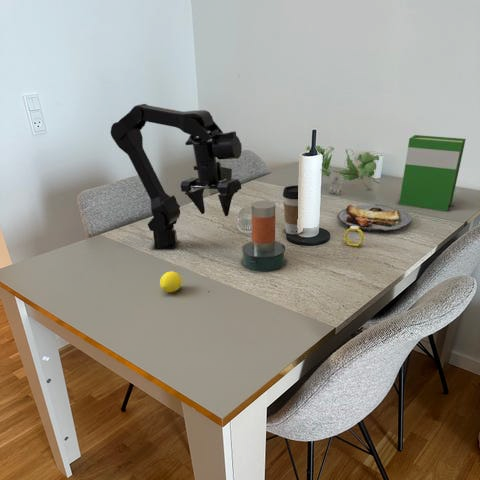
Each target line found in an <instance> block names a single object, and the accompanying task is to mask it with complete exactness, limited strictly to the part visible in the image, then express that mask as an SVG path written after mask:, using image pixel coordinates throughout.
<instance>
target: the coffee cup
mask: <svg viewBox="0 0 480 480" xmlns="http://www.w3.org/2000/svg"><path fill="white" fill-rule="evenodd" d="M282 197H283V212H284V224H285V228H284V229H285V233H286V234H288V235H294V236H296V235H299V234H298V233H297V232H296V231H297V219H298V185H288V186H285V187H284V188H283V191H282ZM292 231H293V232H292Z"/></svg>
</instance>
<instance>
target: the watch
mask: <svg viewBox="0 0 480 480" xmlns="http://www.w3.org/2000/svg"><path fill="white" fill-rule="evenodd" d="M349 231H352V232H353V231H354V232H356V231H357V232H358V233H359V235H360V238H361V239H360V242H359V243H353V242H351V241H349V239H348V232H349ZM343 239H344V242H345V243H346V244H347V246H352V247H353V246H354V247H359V246H360V245H361V244H363V242H364V240H365V235H364V232H363V230H362V229H361V228H359V227H358V226H350V227H349V228H348V229H346V231H344V234H343Z"/></svg>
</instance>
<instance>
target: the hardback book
mask: <svg viewBox="0 0 480 480" xmlns="http://www.w3.org/2000/svg"><path fill="white" fill-rule="evenodd" d="M466 139H467V138H459V137H458V138H457V137H447V136H436V135H435V136H434V135H423V134H421V135H420V134H414V135H413V136H411V137H409V138H408V146H407V150H406V158H405V165H404V170H403V177H402V183H401V188H400V189H401V190H400V196H399V201H398V202H399V205H404V206H410V207H411V206H412V207H417V208H425V209H430V210H438V211H445V212H448V209H449V207H451V206H452V203H453V199H454V194H455V190H456V186H457V181H458V177H459V173H460V167H461V163H462V158H463V154H464V150H465V144H466Z"/></svg>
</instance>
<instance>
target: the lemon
mask: <svg viewBox="0 0 480 480" xmlns="http://www.w3.org/2000/svg"><path fill="white" fill-rule="evenodd" d="M159 281H160V282H159V286H160V288H161V289H162V290H163V291H164V292H166V293H174V292H176V291H178V290H179V289H180V288H181V287H182V284H183V278H182V276H181V275H180V273H178V272H176V271H172V270H171V271H170V270H169V271H166V272H165V273H164V274H163V275H161V278H160V280H159Z"/></svg>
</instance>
